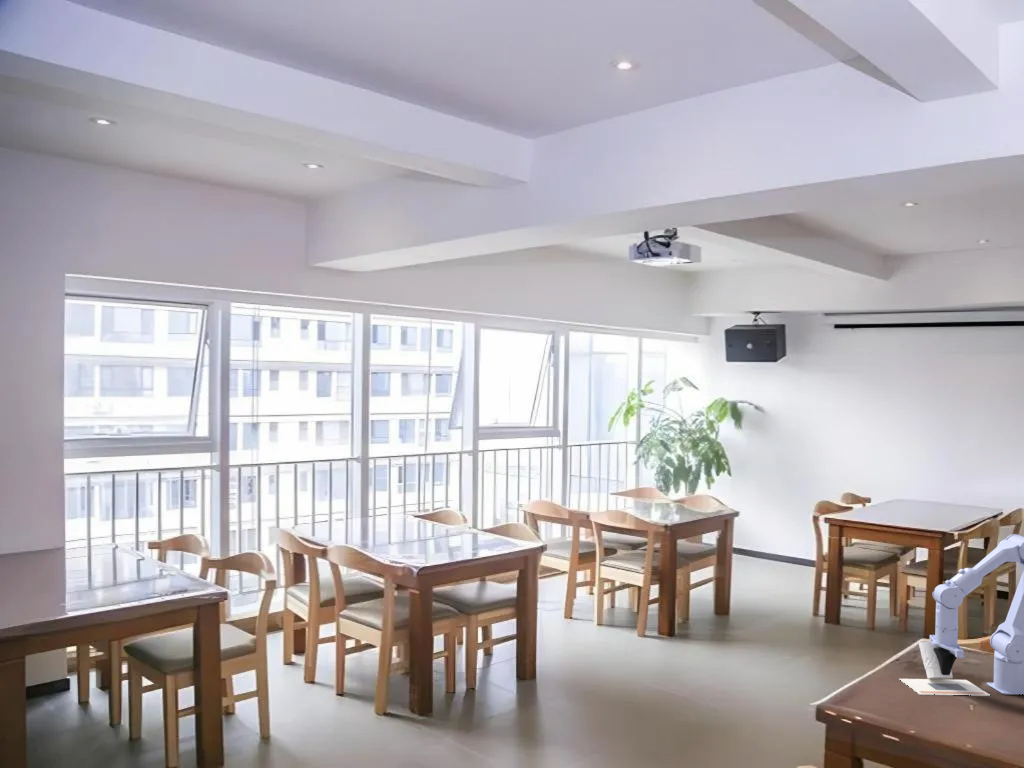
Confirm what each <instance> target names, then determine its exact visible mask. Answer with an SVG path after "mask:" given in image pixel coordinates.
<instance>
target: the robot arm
mask: <svg viewBox="0 0 1024 768" xmlns="http://www.w3.org/2000/svg"><path fill="white" fill-rule="evenodd" d="M1009 562H1010V563H1011V562H1012V563H1016V562H1017V564H1019V566H1020V568H1021V570H1022V573H1021V577H1020V579H1019V581H1018V583H1017V584H1018V585H1017V587H1016V589H1015V593H1014V596H1013V597H1012V600H1011V604H1010V607H1009V609H1008V612H1007V615H1006V618H1005V621H1004V622H1002V623H1000V624H999V625H998V627H997V629H996V630H995V632H993V633H992V635H991V636H990V638H989V639H990V640H989V644H990V646H991V648H992V649H993V650H994V652H993V653H994V655H993V682H986V685H987V686H989V687H990V688H992V689H994V690H995V691H996V692H999V693H1000V694H1002V695H1019V694H1020V695H1022V694H1023V695H1024V536H1022V535H1020V534H1017V533H1014V534H1013V533H1012V534H1009V535H1008V536H1007V537H1006V538H1004V539H1003V540H1000V542H999V543H998V544H997V546H996V547H995V548H994V549H992V550H991V551H990V552H989V553H988V554H987V555H986V556H985V557H984V558H983V559H981V560H980V561H979V562H978V563H976V564H975V565H974V566H973V567H965V568H960V569H959V570H958V571H957V572H958V573H957V574H956V575H953V577H951V578H950V579H946V580H945V582H944V583H943V584H938V585H937V586H936V587H934V590H933V591H932V593H931V594H932V595H931V596H932V598H933V599H934V601H935V625H934V626H935V630H934V631H935V632H934V633H935V634H929V641H932V642H931V644H932V645H934V646H939V647H938V648H934V652H935V654H936V656H937V658H938V662H939V665H940V670H941V674H942V675H950V673H951V669H952V668H953V666H954V664H955V661H956V659H959V658H960V659H961V658H963V659H964V658H965V650H963V649H962V647H961V646H960V645H959V642H958V641H959V637H958V635H959V607H961V605H962V604H963V602H964V598H965V597H966V596H967V595H969V594H970V593H971V592H973V591H974V590H975V589H977V588H978V587H979V586H981V585H982V583H983V578H984V577H985V576H987V575H988V574H989V573H992V572H993V571H994V570H996V569H997V568H999V567H1000V566H1001V565H1003V564H1005V563H1009Z"/></svg>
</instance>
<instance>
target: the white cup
mask: <svg viewBox="0 0 1024 768" xmlns="http://www.w3.org/2000/svg"><path fill="white" fill-rule="evenodd" d="M931 642H932V641H930V640H929V641H922V642H921V641H920V642H918V647H919V650H920V655H921V660H922V663H923V666H924V670H925V673H926V679H953V670H952V669H951V673H950V675H942V674H941V670H940V665H939V662H938V658H937V656H936V654H935V652H934V648H938V647H939V646H934V645H932V644H931Z"/></svg>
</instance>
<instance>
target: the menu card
mask: <svg viewBox="0 0 1024 768" xmlns="http://www.w3.org/2000/svg"><path fill="white" fill-rule="evenodd" d="M898 680H899V681H900V680H901V681H900V682H901V683H903V684H904V683H905V684H904V685H906V686H907V685H908V686H909V687H908V686H907V687H908V688H910V689H911V688H912V689H913V690H912V689H911V690H912V691H914V692H915V693H916V692H917V694H918V695H919V696H953V695H969V696H970V695H971V696H970V697H991V696H990V695H991V694H990V693H988V692H986V691H985V690H983V689H982V688H980V687H979V686H977V685H975V684H974V683H973V682H971V681H969V680H967V679H949V678H946V679H929V678H898ZM934 694H935V695H934ZM969 696H968V697H969Z"/></svg>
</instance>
